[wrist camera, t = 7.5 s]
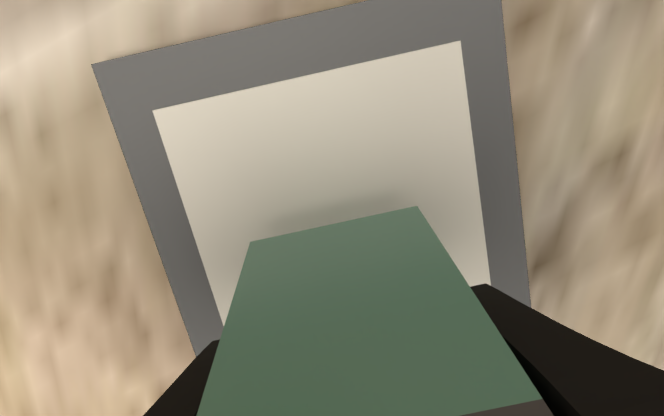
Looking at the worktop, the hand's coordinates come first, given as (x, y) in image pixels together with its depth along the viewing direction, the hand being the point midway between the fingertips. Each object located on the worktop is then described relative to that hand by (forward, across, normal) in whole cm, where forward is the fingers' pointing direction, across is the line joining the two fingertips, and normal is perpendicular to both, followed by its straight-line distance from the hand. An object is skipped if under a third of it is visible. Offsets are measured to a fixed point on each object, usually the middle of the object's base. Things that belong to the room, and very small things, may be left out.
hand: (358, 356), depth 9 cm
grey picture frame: (+7, 0, 0) cm, 7 cm away
